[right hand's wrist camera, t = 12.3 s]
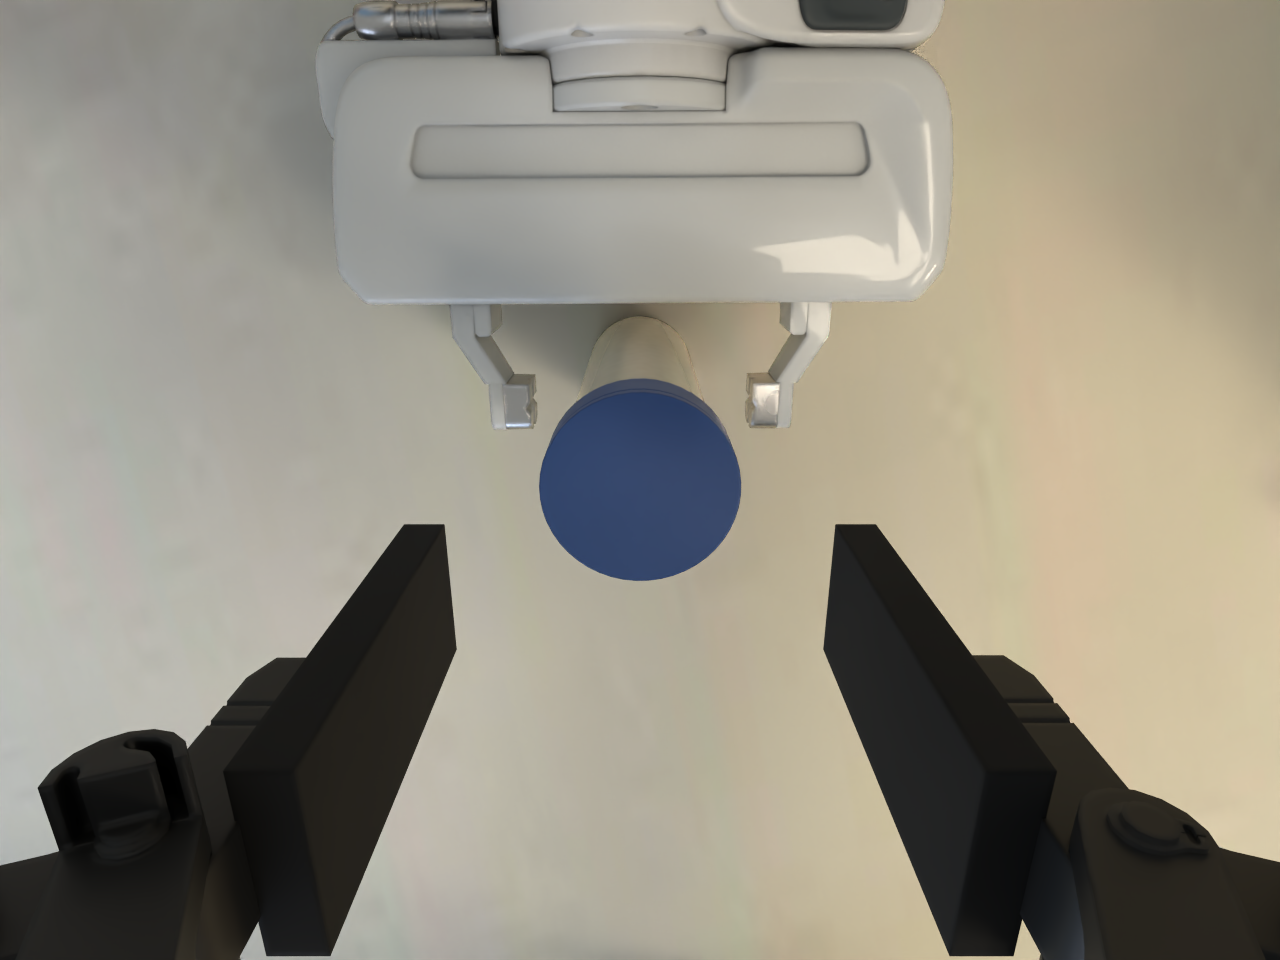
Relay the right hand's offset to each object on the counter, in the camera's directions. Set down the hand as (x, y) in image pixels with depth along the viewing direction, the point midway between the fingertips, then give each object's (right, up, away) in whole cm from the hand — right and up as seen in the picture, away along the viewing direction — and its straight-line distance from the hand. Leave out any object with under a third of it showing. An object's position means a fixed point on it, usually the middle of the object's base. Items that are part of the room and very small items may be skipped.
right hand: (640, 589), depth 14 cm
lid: (0, +2, +5) cm, 6 cm away
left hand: (0, +4, +14) cm, 14 cm away
